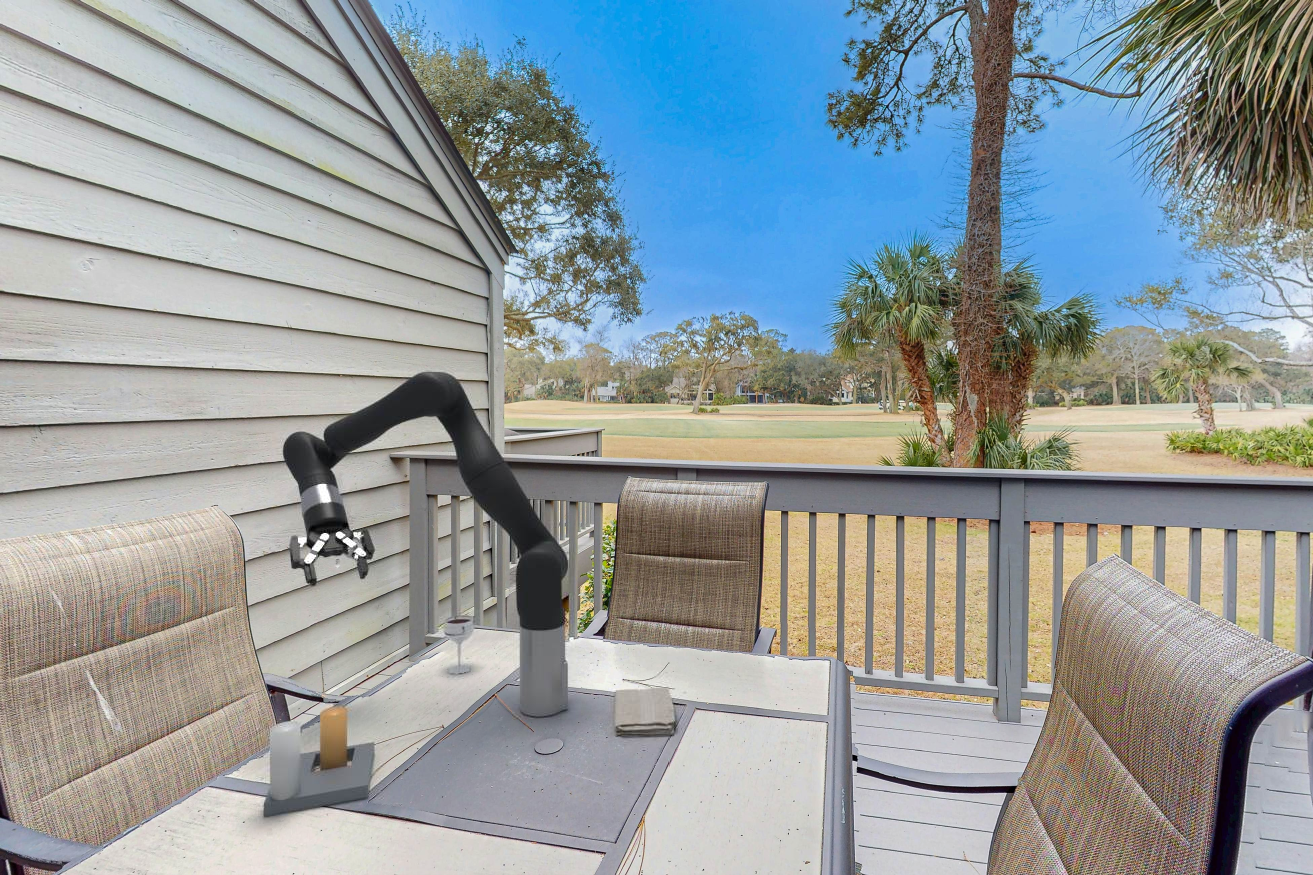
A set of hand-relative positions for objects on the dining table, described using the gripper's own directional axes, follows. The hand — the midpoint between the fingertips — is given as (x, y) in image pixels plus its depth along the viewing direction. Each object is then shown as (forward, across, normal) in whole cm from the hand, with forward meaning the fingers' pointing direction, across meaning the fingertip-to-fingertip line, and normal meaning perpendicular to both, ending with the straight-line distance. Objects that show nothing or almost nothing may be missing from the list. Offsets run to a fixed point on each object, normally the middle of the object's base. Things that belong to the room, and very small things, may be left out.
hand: (339, 580), depth 118 cm
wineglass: (+10, +29, +30) cm, 43 cm away
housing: (+32, -6, +9) cm, 34 cm away
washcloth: (+43, +48, -1) cm, 64 cm away
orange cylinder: (+30, -4, +10) cm, 32 cm away
